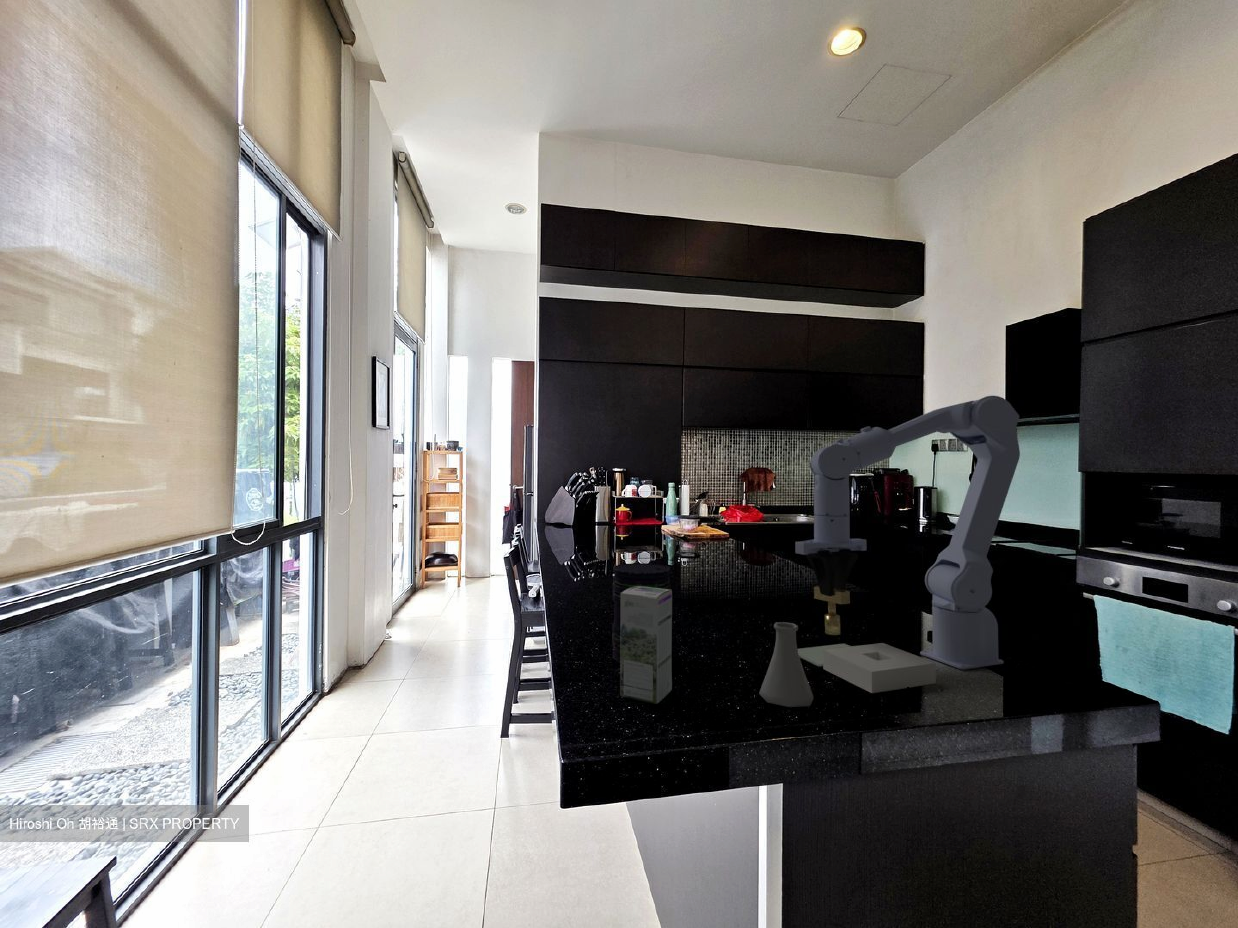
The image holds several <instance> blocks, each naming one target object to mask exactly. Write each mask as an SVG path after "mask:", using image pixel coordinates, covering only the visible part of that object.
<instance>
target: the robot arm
mask: <svg viewBox="0 0 1238 928" xmlns="http://www.w3.org/2000/svg"><path fill="white" fill-rule="evenodd" d="M1019 419H1020V415H1019V413H1018V412H1017V410H1015V408H1014V407H1013V406H1012V404H1011V403H1010V402H1009V401H1008V400H1007V399H1005V398H1004V397H1002V396H999V395H986V396H984V397H982V398H979V399H976V400H969V401H966V402H962V403H957V404H956V403H955V404H953V405H947V406H944V407H941V408H936V409H934V410H931V411H928V412H925V413H924V414H921V415H920V416H917V417H915V418H913V419H911V420H908V421H906V422H904V423H902V424H899V425H897V426H894V427H892V428H890V429H888V430H887V429H884V428H882V427H879V426H875V427H871V425H870V426H869V425H868V426H865V427H863V428H861V429H860V433H858V434H855V435H852V436H850V437H848V438H845V439H843V438H838V439H836V440H835V441H834V444H831V445H829V446H824V447H821V448H819V449H818V450H816V451H815V452H814V453H813V455H812V456H811V460H810V462H809V464H808V466H809V469H810V471H811V473H812V474H813V476H814V488H813V537H814V538H813V539H808V540H802V541H795V542H794V543H795V544H794V545H795V550H794V551H795V552H794V553H795V554H797V555H798V554H799V555H804V556H805V557H806V559H807V560H808V562H809V563H810V566H811V567H812V569H813V573H814V574H815V578H816V581H817V583H818V586H819V589H820V593H821V594H823V595H827V596H832V595H833V591H834V588H835V589H840V590H845V589H846V586H847V582H848V580H849V579H848V578H849V576H850V575H851V574H850V573H851V571H852V569H853V567H854V565H855V564H856V562H857V561H858V559H859V555H858V553H856V552H853V551H861V552H864V551H867V550H868V549H867V547H868V546H867V539H864V538H863V539H862V538H850V535H851V534H850V533H851V532H850V531H851V529H850V528H851V527H850V525H851V523H850V519H851V518H850V517H851V516H850V515H851V514H850V510H851V509H850V476H851V474H852V473H853V472H856V471H859V470H861V469H864V468H866V467H870V466H871V465H874V464H876V463H880V462H881V461H884V460H887V459H890V458H891V457H892V456H893V455H894V452H895V450H896V448H897V447H899V446H902V445H905V444H907V443H910V442H912V441H916V440H918V439H921V438H923V437H926V436H929V435H932V434H935V433H940V434H948V433H949V434H951V435H952V437H954V438H955V439H957V440H958V441H959V442H961V443H963V445H965V446H966V447H968V449H970V451H971V452H972V453H973V454H974V456H975V458H976V459H977V461H976V465H975V468H974V471H973V474H972V477H971V480H970V483H969V486H968V489H967V492H966V495H965V498H964V500H963V504H962V507H961V509H960V513H959V515H958V518H957V521H956V525H955V527H954V530H953V533H952V536H951V539H950V542H949V545H948V546H947V547H945V548H944V549H943V550H942V551H941V552H940V553H938V556H937V558H936V561H935V562H934V564H933V565H931V566H930V567H929V568H928V569H927V571H926V573H925V576H924V583H925V586H926V587H925V588H926V589H927V591H928V592H929V593H930V594H932V600H931V605H932V607H931V610H932V611H931V614H932V617H931V618H932V621H931V622H932V624H931V625H932V649H929V650H928V649H927V650H921V651H920V652H919V655H921V656H924V657H927V658H930V659H932V660H935V661H938V662H940V663H942V664H946V665H949V666H951V667H954V668H956V669H959V670H970V669H977V668H982V667H990V666H996V665H1002V664H1004V662H1005V661H1004V660H1002V659H999V625H998V621H997V618H996V616H995V615H994V613H993V612H992V611H991V610H990V609H988V608H987V607H986V606H987V605H988V604H989V602H990V600H991V599H992V595H993V588H992V581H991V580H992V575H993V572H994V569H993V566H992V565H991V563H990V561H989V559H988V557H987V556H988V552H989V550H990V547H991V544H992V541H993V538H994V534H995V532H996V529H997V526H998V523H999V520H1000V518H1001V513H1002V511H1003V507H1004V505H1005V502H1006V498H1007V496H1008V493H1009V490H1010V487H1011V484H1012V481H1013V478H1014V475H1015V472H1016V470H1017V466H1018V463H1019V461H1020V456H1021V451H1020V445H1019V438H1018V432H1017V427H1018V426H1017V425H1018V423H1019ZM845 591H846V590H845Z"/></svg>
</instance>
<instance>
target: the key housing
mask: <svg viewBox="0 0 1238 928" xmlns="http://www.w3.org/2000/svg"><path fill="white" fill-rule="evenodd" d="M822 667H823V670H825V671H827V672H829V673H831V674H833V675H835V676H837V677H839V678H840V679H843V680H845V681H847V682H848V683H850V684H853V685H854V686H856V687H859V688H860V689H863V690H865V691H867V692H869V693H870V694H875V693H876V694H877V693H882V692H889V691H895V690H901V689H908V688H907V687H909V688H914V687H915V688H916V687H921V686H926V685H934V684H936V683H937V664H936V662H934V661H932V660H929V659H926V658H924V657H921V656H918V655H916V654H912V653H911V652H908V651H905V650H902V649H900V648H897V647H894V646H891V645H889V644H887V643H884V642H878V643H871V644H862V645H853V646H851V647H844V648H835V649H827V650H823V666H822Z"/></svg>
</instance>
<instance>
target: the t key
mask: <svg viewBox="0 0 1238 928" xmlns="http://www.w3.org/2000/svg"><path fill="white" fill-rule="evenodd" d="M850 596H851V593H850V591H849V590H840V589H835V588H834V591H833V595H832V596H827V595H823V594H821V593H820V589H819V585H818V586H813V598H814V599H816V600H820V601H824V602H827V604H828V605H827V612H828V613H826V614H824V630H825V631H824V633H825V634H827V635H831V636H839V635H841V616H840V615H839V614H837V611H836V609H837V606H836V604H838V605H847V604H848V605H849V604H851V597H850Z"/></svg>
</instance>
